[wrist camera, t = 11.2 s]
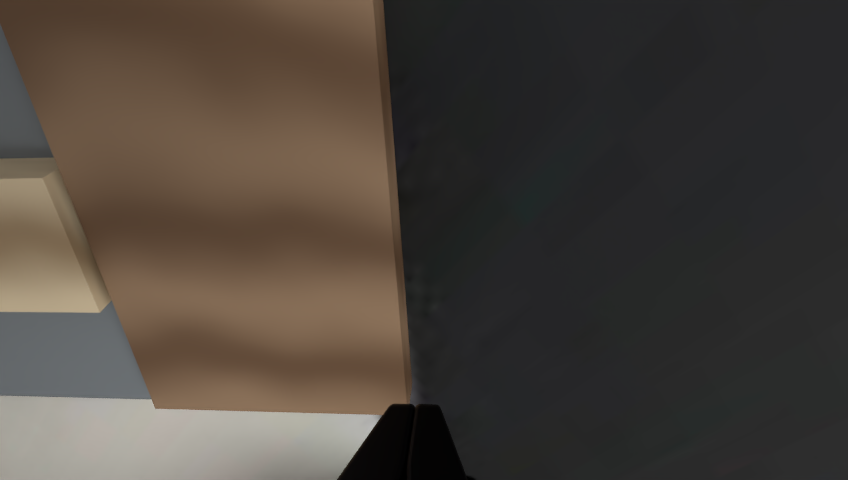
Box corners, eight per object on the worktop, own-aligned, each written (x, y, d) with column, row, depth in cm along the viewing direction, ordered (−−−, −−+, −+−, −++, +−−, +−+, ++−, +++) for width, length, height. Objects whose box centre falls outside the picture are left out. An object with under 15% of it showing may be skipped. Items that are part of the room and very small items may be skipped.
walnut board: (412, 383, 27) (407, 415, 25) (175, 378, 28) (155, 408, 26) (380, -28, 18) (370, -22, 16) (32, -13, 19) (-12, -6, 17)
